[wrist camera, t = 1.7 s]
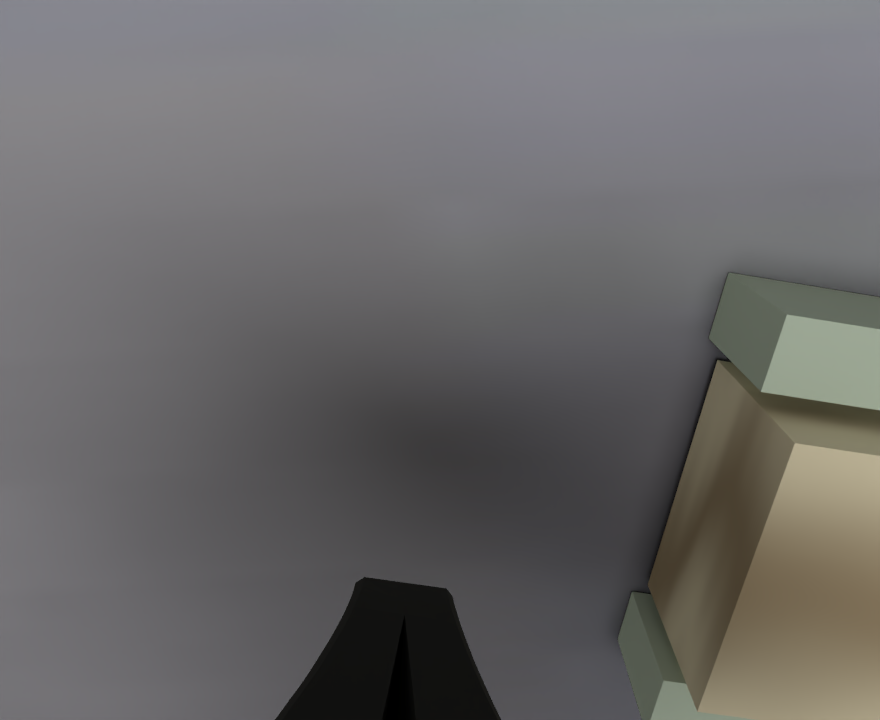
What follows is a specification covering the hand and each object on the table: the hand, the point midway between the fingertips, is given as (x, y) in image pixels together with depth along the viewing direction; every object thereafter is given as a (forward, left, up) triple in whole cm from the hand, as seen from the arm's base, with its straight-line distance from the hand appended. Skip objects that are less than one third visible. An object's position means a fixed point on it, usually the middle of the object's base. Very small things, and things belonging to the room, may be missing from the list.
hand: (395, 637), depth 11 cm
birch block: (0, -9, -7) cm, 11 cm away
